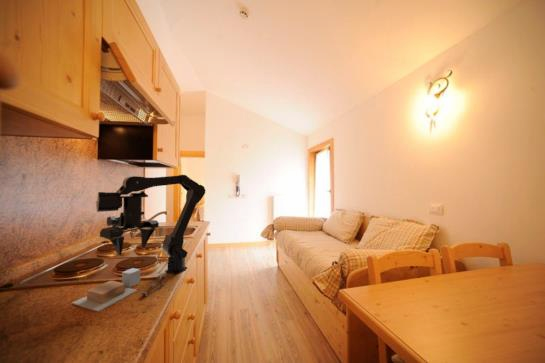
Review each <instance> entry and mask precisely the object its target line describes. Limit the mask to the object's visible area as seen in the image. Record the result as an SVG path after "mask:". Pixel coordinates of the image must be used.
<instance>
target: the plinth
mask: <svg viewBox="0 0 545 363" xmlns="http://www.w3.org/2000/svg"><path fill="white" fill-rule="evenodd" d="M123 293H125V284H124V283H122V282H119V281H116V280H108V281H107V282H103V283H101V284H99V285H97V286H95V287H92V288H89V289H87V290H86V296H87V300H90V301H93V302H97V303H100V304H103V303H105V302H107V301H109V300H111V299H113V298H115V297H117V296H119V295H121V294H123Z"/></svg>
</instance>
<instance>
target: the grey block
mask: <svg viewBox="0 0 545 363" xmlns="http://www.w3.org/2000/svg"><path fill="white" fill-rule="evenodd" d="M121 283H124V284H125V287H126V288H130V289H131V288H133V287H134V286H136V285H138V284H139V283H141V269H140V268H135V267H132V268H129V269H126V270H124V271H122V273H121Z"/></svg>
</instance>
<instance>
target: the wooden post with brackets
mask: <svg viewBox="0 0 545 363" xmlns="http://www.w3.org/2000/svg"><path fill="white" fill-rule="evenodd" d="M162 279H163V274H160V275H158V276H157V277H156V279H155V281H152V282H151V284H150V286H149V287H148V288H146V289H145V290H144V291H141V295H142V296H143V297H148V295H149V294H150V291H151V290H152V289H153V288H154V291H157V290H159V289H161V286H164V285H165V283H164V281H163V280H162ZM158 283H160V284H158ZM155 286H156V287H155Z"/></svg>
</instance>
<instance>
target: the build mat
mask: <svg viewBox="0 0 545 363" xmlns="http://www.w3.org/2000/svg"><path fill="white" fill-rule="evenodd" d="M136 292H138V289H135V288H131V287H130V288H129V287H125V293H123V294H121V295H119V296H117V297H115V298H113V299H111V300H109V301H107V302H105V303H103V304H100V303H97V302H93V301H90V300H87V295H86V296H84V297H81V298H79V299H78V300H77V299H76V300H75V301H73V302H71V304H72V305H75V306H78V307H82V308H84V309H88V310H91V311H94V312H98V313H99V312H101V311H102V310H104V309H107V308H109V307H110V306H112V305H113V304H115V303H118V302H120V301H121V300H124V299H125V298H127V297H129V296H131V295H133V294H135V293H136Z"/></svg>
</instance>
